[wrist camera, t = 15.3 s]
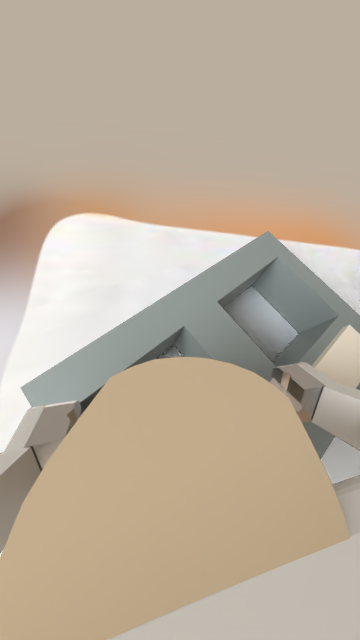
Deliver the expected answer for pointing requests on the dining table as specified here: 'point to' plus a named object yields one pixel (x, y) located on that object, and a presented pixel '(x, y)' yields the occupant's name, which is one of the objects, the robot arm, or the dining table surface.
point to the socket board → (221, 330)
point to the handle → (164, 502)
